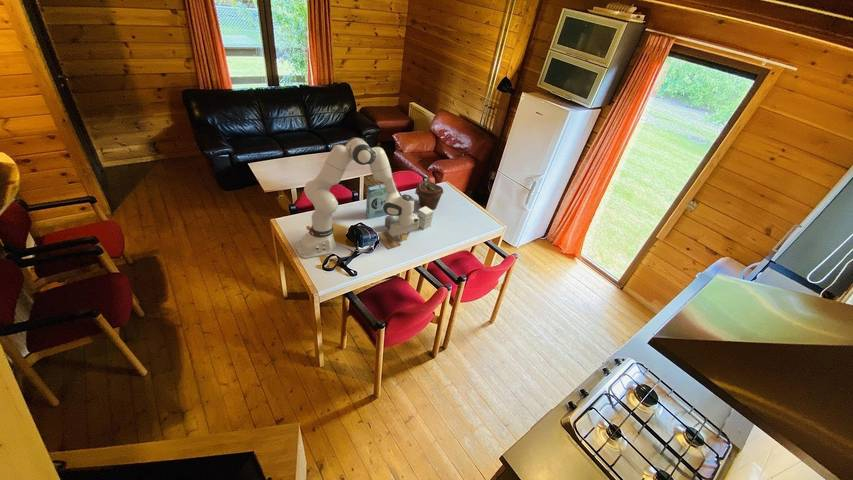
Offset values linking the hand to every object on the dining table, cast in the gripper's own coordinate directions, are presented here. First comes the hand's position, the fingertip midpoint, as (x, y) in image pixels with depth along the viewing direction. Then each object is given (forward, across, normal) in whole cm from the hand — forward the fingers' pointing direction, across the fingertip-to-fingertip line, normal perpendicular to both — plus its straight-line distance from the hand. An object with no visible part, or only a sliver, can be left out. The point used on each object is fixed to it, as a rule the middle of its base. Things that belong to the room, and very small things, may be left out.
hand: (403, 237), depth 232 cm
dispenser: (+2, 0, +11) cm, 11 cm away
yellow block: (+2, 0, +4) cm, 5 cm away
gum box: (+2, +1, +30) cm, 31 cm away
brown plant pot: (+2, +38, +26) cm, 46 cm away
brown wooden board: (+2, -9, +4) cm, 10 cm away
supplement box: (+2, +21, +6) cm, 22 cm away
